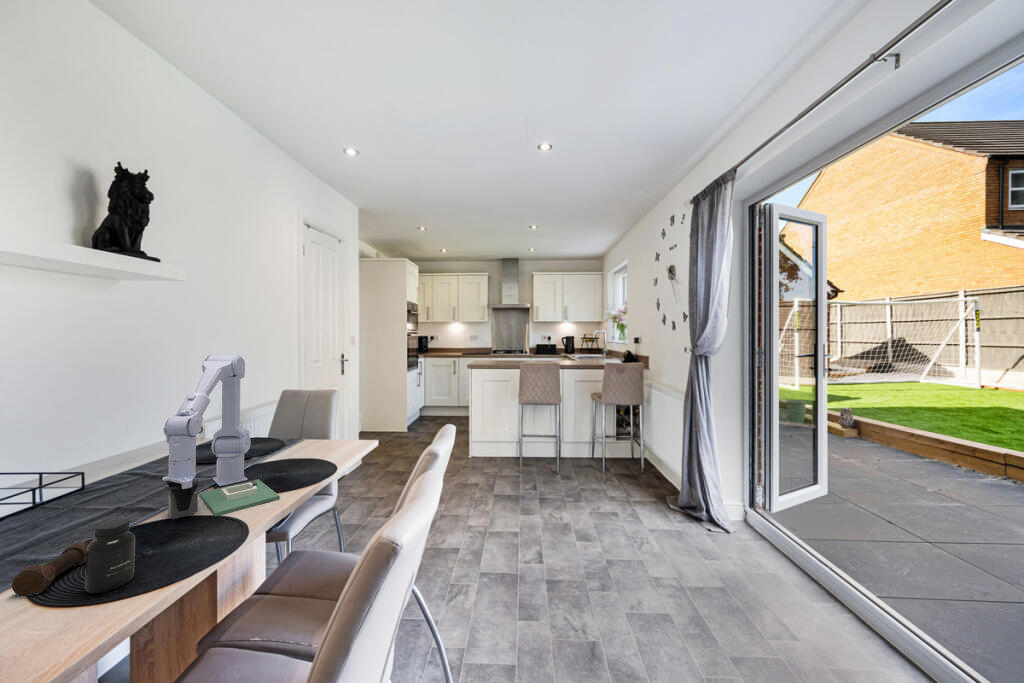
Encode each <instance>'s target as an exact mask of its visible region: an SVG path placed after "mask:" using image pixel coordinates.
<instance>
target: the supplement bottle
mask: <svg viewBox="0 0 1024 683" xmlns="http://www.w3.org/2000/svg"><path fill="white" fill-rule="evenodd" d="M93 538H94V539H92V540H93V541H92V542H91V543H90V544H89V545H88V547H87V550H86V562H85V572H84V574H85V575H84V577H85V578H84V589H85V592H87V593H89V594H102V593H107V592H110V591H113V590H116V589H118V588H120V587H123V586H124V585H126V584H128V583H129V582H130V581H132V579H133V577H134V575H135V574H134V573H135V558H136V556H135V555H136V535H135V534H134V533H133V532H131V531H130V520H129V519H127V518H119V519H118V518H117V519H112V520H108V521H103V523H99V524H98V525H96V526H95V527H94V534H93Z"/></svg>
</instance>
